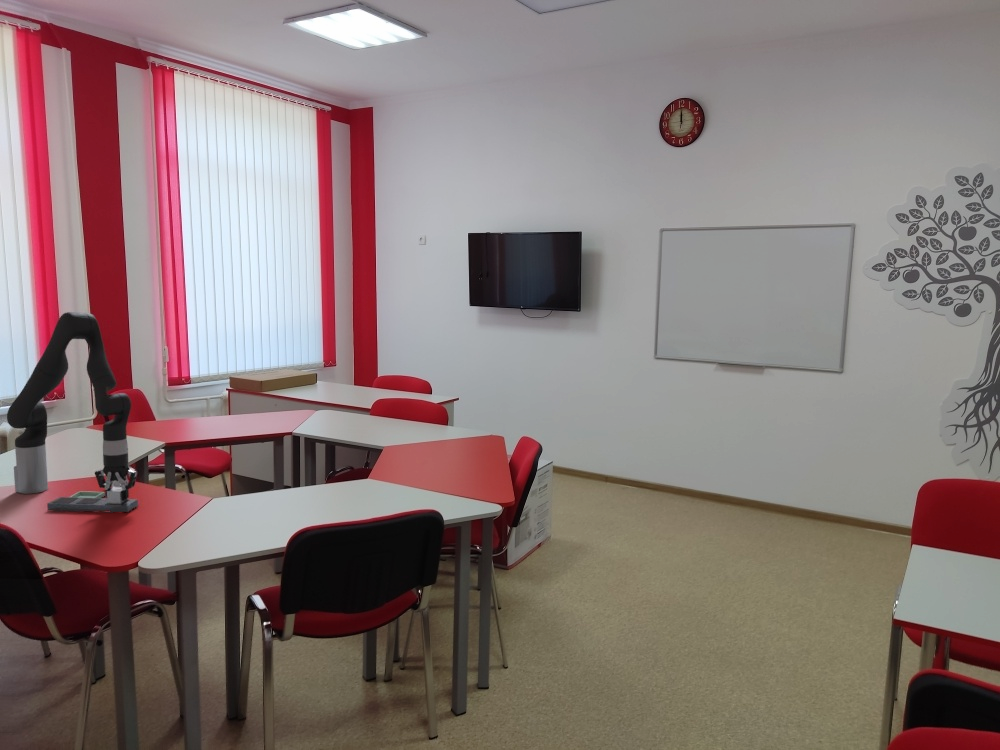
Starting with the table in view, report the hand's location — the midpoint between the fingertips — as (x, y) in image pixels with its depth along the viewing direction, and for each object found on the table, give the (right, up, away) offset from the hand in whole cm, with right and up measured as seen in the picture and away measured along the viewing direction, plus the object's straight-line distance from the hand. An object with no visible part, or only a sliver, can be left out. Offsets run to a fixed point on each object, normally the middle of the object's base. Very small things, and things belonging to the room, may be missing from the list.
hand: (117, 499), depth 240 cm
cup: (-13, 0, +22) cm, 26 cm away
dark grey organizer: (-9, -3, 0) cm, 9 cm away
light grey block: (0, -3, 0) cm, 3 cm away
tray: (-16, -2, +9) cm, 18 cm away
